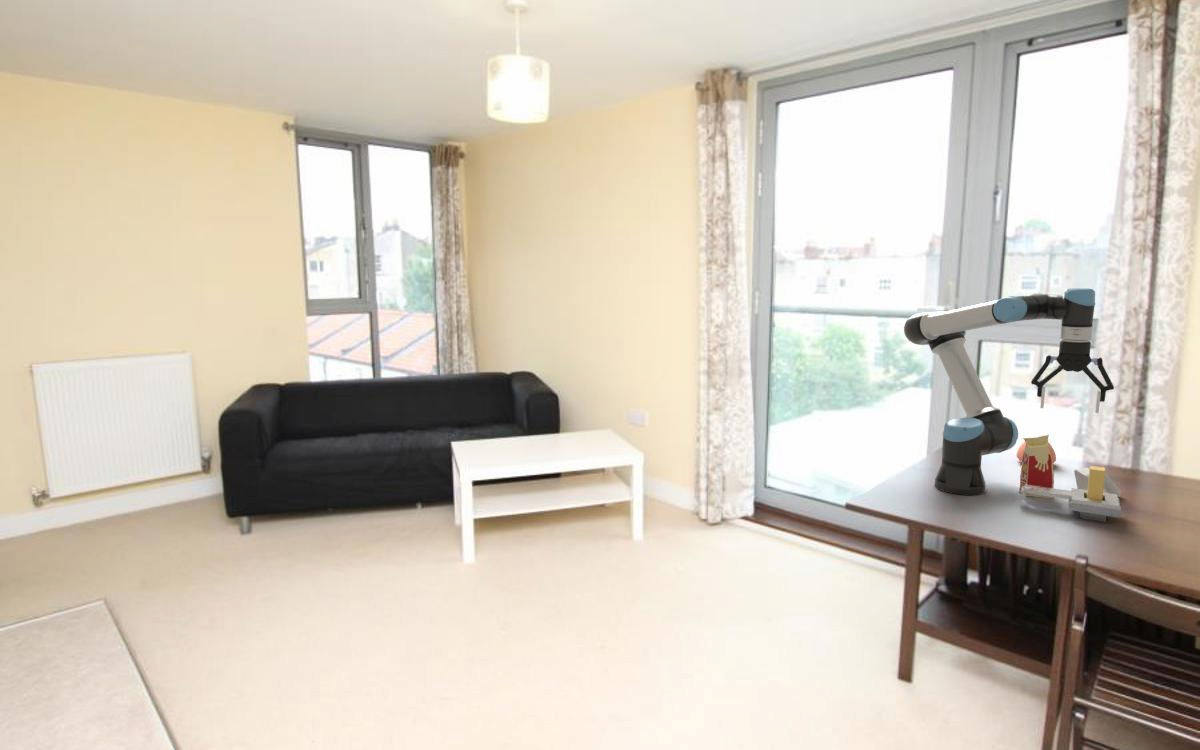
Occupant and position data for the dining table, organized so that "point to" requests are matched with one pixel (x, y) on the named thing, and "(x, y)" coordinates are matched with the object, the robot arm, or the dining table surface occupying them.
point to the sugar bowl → (1022, 448)
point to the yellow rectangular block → (1096, 483)
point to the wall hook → (1083, 478)
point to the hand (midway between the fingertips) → (1068, 409)
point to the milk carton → (1037, 464)
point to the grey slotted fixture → (1080, 501)
